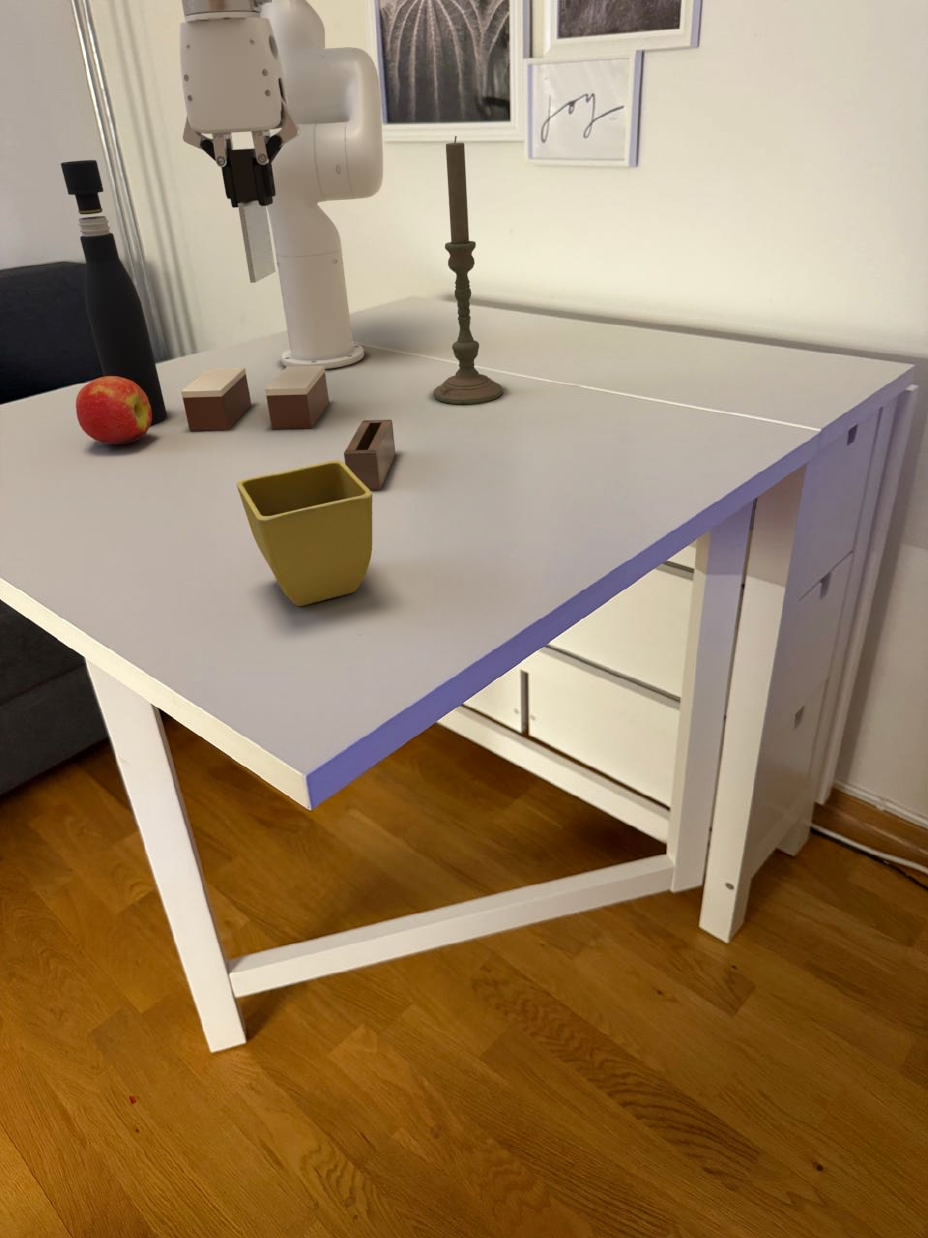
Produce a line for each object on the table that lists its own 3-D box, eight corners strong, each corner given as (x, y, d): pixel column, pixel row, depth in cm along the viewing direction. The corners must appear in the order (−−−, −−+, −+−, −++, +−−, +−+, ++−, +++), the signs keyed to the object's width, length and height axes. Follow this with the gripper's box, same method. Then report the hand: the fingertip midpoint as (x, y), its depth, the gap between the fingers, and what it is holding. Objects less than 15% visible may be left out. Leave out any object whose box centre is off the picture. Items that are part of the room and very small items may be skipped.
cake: (215, 406, 120) (208, 368, 117) (251, 405, 119) (245, 367, 117) (189, 430, 111) (180, 391, 109) (228, 429, 111) (220, 389, 108)
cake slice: (292, 404, 119) (286, 366, 116) (329, 403, 118) (324, 365, 116) (271, 429, 110) (265, 388, 108) (311, 428, 110) (305, 387, 107)
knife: (263, 272, 106) (244, 148, 100) (283, 271, 106) (265, 147, 100) (242, 282, 99) (220, 150, 93) (263, 282, 99) (243, 149, 93)
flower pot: (278, 626, 69) (258, 518, 64) (254, 579, 76) (234, 479, 71) (386, 598, 72) (374, 493, 67) (353, 555, 79) (340, 458, 74)
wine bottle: (152, 428, 113) (88, 162, 98) (106, 427, 115) (36, 165, 99) (176, 412, 119) (118, 157, 103) (132, 411, 120) (69, 160, 105)
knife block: (366, 454, 101) (362, 419, 99) (395, 453, 100) (392, 419, 98) (348, 490, 92) (343, 453, 90) (380, 489, 91) (376, 452, 89)
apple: (130, 456, 104) (113, 388, 100) (70, 453, 107) (51, 386, 103) (169, 434, 111) (154, 369, 107) (111, 431, 113) (94, 367, 109)
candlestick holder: (513, 386, 120) (506, 131, 105) (486, 407, 113) (474, 137, 98) (452, 381, 124) (436, 134, 108) (421, 401, 116) (400, 140, 101)
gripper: (308, 1, 92) (331, 198, 102) (158, 13, 94) (194, 205, 103) (289, -6, 86) (315, 205, 95) (128, 7, 88) (170, 213, 97)
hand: (252, 203), depth 99 cm, fingers closed on knife, 2 cm apart
